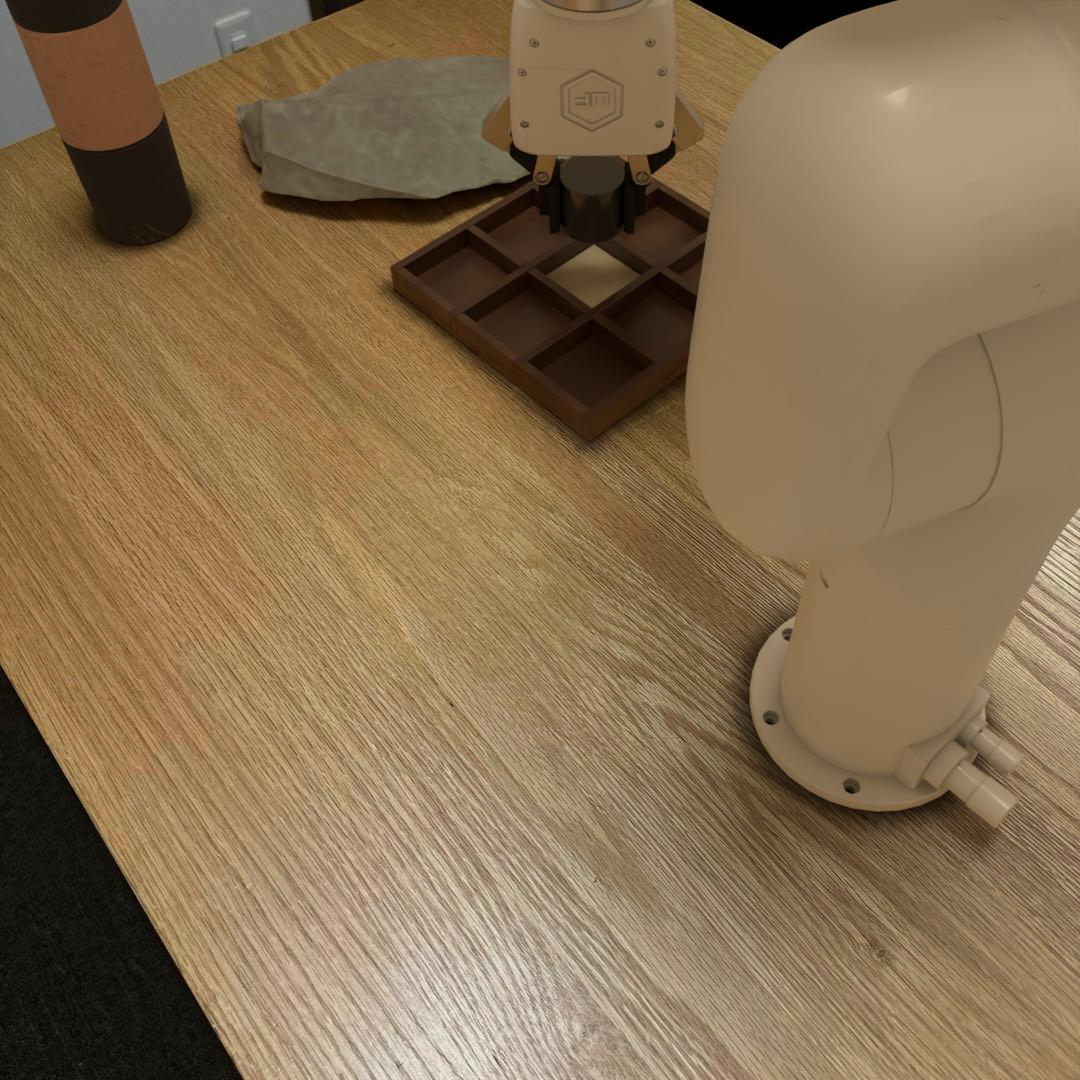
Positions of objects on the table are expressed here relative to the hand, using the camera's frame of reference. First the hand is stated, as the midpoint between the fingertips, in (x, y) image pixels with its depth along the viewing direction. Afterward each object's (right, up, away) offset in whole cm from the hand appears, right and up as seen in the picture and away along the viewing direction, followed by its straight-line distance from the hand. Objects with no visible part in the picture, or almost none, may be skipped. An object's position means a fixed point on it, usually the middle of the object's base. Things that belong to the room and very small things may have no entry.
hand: (592, 218), depth 82 cm
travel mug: (-35, +3, +12) cm, 37 cm away
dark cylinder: (0, 0, 0) cm, 0 cm away
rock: (-14, +10, +16) cm, 24 cm away
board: (0, -4, +5) cm, 6 cm away
